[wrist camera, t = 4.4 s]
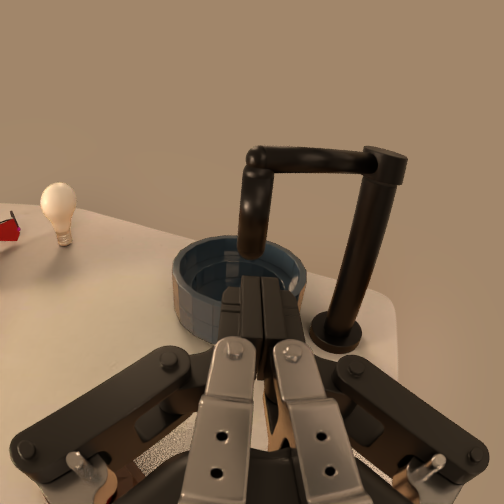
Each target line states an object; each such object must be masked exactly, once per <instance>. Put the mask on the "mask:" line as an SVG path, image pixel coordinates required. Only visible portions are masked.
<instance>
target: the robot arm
mask: <svg viewBox="0 0 504 504" xmlns="http://www.w3.org/2000/svg"><path fill="white" fill-rule="evenodd" d="M256 375H257V380H264V392H263V404H264V412H265V419H266V426H267V433H268V452H267V451H262V450H257V449H253V448H250V445H251V432H252V419H253V388H254V380H256ZM193 412H197V417H196V422H195V427H194V432H193V436H192V441H191V446H190V450H189V451H185V452H182V453H179V454H177V455H175V456H173V457H171V458H169V459H168V460H166V461H165V462H163V463H162V464H161V465H160V466H158V467H157V468H156V469H155V470H154V471H153V472H151V473H150V474H149V475H148V476H146V477H145V478H144V479H143V480H142V481H140V482H139V483H138V484H136V485H135V486H134V487H133V488H131V489H130V490H129V491H128V492H126V493H125V494H124V495H122V496H121V497H120V498H118V499H117V500H116V501H114V502H113V503H112V504H453V502H454V501H455V499H456V497H457V496H458V494H459V492H460V490H461V488H462V486H463V485H464V484H465V483H466V482H468V481H470V480H471V479H473V478H474V477H476V476H477V475H479V474H480V473H481V472H483V471H484V470H485V469H486V468H487V466H488V463H489V452H488V449H487V447H486V446H485V445H484V443H482V442H481V441H480V440H478V439H477V438H475V437H474V436H472V435H471V434H470V433H468V432H467V431H465V430H464V429H462V428H461V427H460V426H458V425H457V424H455V423H454V422H452V421H451V420H449V419H448V418H446V417H445V416H444V415H442V414H441V413H440V412H438V411H437V410H435V409H434V408H433V407H431V406H430V405H429V404H427V403H426V402H424V401H423V400H421V399H420V398H418V397H417V396H416V395H415V394H413V393H412V392H410V391H409V390H407V389H406V388H405V387H403V386H402V385H401V384H399V383H398V382H397V381H395V380H394V379H392V378H391V377H390V376H388V375H387V374H386V373H384V372H383V371H381V370H380V369H379V368H377V367H376V366H375V365H373V364H372V363H371V362H369V361H368V360H366V359H365V358H363V357H361V356H357V355H346V356H344V357H342V358H340V359H339V361H338V362H334V361H330V360H326V359H323V358H320V357H318V356H316V355H315V354H313V351H312V349H311V348H310V347H309V346H308V345H307V344H306V343H305V338H304V333H303V328H302V323H301V318H300V313H299V309H298V304H297V299H296V297H295V296H294V295H293V294H292V293H291V291H288V290H280V285H279V279H278V278H273V277H258V276H245V275H242V279H241V287H230V286H228V287H227V289H226V290H225V291H224V292H223V294H222V302H221V312H220V321H219V330H218V339H217V342H216V344H215V345H214V346H213V347H212V348H211V349H209V350H208V351H205V352H203V353H198V354H192V355H189V354H188V353H187V352H186V351H185V350H183V349H182V348H179V347H176V346H163V347H160V348H157V349H155V350H154V351H152V352H151V353H149V354H148V355H146V356H145V357H143V358H141V359H140V360H138V361H137V362H135V363H134V364H132V365H130V366H129V367H127V368H126V369H124V370H122V371H121V372H119V373H118V374H116V375H115V376H113V377H111V378H110V379H108V380H107V381H105V382H103V383H102V384H100V385H98V386H97V387H95V388H94V389H92V390H90V391H89V392H87V393H85V394H84V395H82V396H81V397H79V398H77V399H76V400H74V401H72V402H71V403H69V404H67V405H66V406H64V407H62V408H61V409H59V410H57V411H56V412H54V413H52V414H51V415H49V416H47V417H46V418H44V419H42V420H41V421H39V422H37V423H35V424H34V425H32V426H30V427H29V428H27V429H25V430H23V431H22V432H20V433H18V434H17V435H16V436H15V437H14V438H13V439H12V441H11V444H10V448H9V453H10V457H11V460H12V462H13V464H14V465H15V466H16V467H17V468H18V469H19V470H21V471H22V472H23V473H25V474H26V475H27V476H28V477H29V478H30V479H31V480H33V481H34V482H36V483H37V484H38V486H39V487H40V489H41V491H42V492H43V494H44V495H45V497H46V498H47V500H48V501H49V503H50V504H106V502H107V500H108V499H109V498H110V497H111V496H112V495H113V494H114V492H115V491H116V489H117V477H116V475H115V473H116V472H117V471H119V470H120V469H122V468H123V467H125V466H126V465H127V464H129V463H130V462H132V461H133V460H134V459H136V458H137V457H138V456H140V455H141V454H142V453H144V452H145V451H146V450H148V449H149V448H150V447H152V446H153V445H154V444H156V443H157V442H158V441H160V440H161V439H162V438H164V437H165V436H166V435H167V434H169V433H170V432H171V431H173V430H174V429H175V428H176V427H178V426H179V425H180V424H181V423H183V422H184V421H185V420H186V419H188V418H189V417H190V416H191V415H192V413H193ZM351 447H352V448H353V449H354V450H356V451H357V452H358V453H359V454H361V455H362V456H363V457H364V458H366V459H367V460H368V461H369V462H371V463H372V464H373V465H374V466H376V467H377V468H378V469H380V470H381V471H382V472H384V473H385V474H386V475H388V476H389V477H390V478H392V479H393V480H392V486H391V485H390V484H389V483H387V482H386V481H385V480H384V479H383V478H381V477H380V476H379V475H378V474H376V473H375V472H374V471H373V470H372V469H371V468H369V467H368V466H367V465H366V464H365V463H363V462H362V461H361V460H359V459H358V458H356V457H354V454H353V451H352V448H351Z"/></svg>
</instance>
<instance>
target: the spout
mask: <svg viewBox="0 0 504 504" xmlns="http://www.w3.org/2000/svg"><path fill="white" fill-rule="evenodd" d="M407 161H408V159H407V157H405V156H404V155H401V154H398V153H396V152H393V151H389V150H386V149H381V148H378V147H372V146H364V149H363V152H357V151H347V150H336V149H335V150H334V149H323V148H307V147H289V146H255V147H253V148H251V149H250V150H249V151H248V153H247V155H246V164H247V165H246V166H245V168H244V170H243V177H242V189H241V201H240V213H239V225H238V237H237V250H238V253H239V254H240V256H241V257H243V258H244V259H246V260H256V259H258V258H259V257H261V256H262V254H263V253H264V251H265V245H266V237H267V229H268V222H269V213H270V205H271V198H272V189H273V181H274V173H342V174H344V173H345V174H361V175H363V176H365V177H367V178H369V179H372V180H375V181H378V182H381V183H385V184H390V185H402V183H403V178H404V174H405V170H406V165H407Z"/></svg>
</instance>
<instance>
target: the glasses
mask: <svg viewBox="0 0 504 504" xmlns="http://www.w3.org/2000/svg"><path fill="white" fill-rule="evenodd" d="M10 214H11V217H13V219H8V220H5V221H7V222H5V221H2V222H0V223H2V224H0V241H17V240H18V237H19V234H20V232H19V231H20V228H19V226H18V224H17V221H16V219H15V216H14V214H13V212H12V211H10ZM3 222H4V223H3Z"/></svg>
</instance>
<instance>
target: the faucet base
mask: <svg viewBox="0 0 504 504" xmlns="http://www.w3.org/2000/svg"><path fill="white" fill-rule="evenodd" d="M396 189H397V185H390V184H385V183H381V182H378V181H375V180H372V179H369V178H367V177H365V176H363V178H362V183H361V187H360V192H359V197H358V201H357V205H356V210H355V214H354V219H353V223H352V227H351V231H350V235H349V239H348V243H347V246H346V250H345V254H344V258H343V262H342V265H341V269H340V273H339V276H338V279H337V283H336V286H335V290H334V293H333V297H332V300H331V303H330V306H329V310H328V311H326V312H322V313H319V314H318V315H316V316H315V317H314V319H313V320H312V323H311V327H310V337H311V339H312V341H313V342H314V343H315V344H316V345H317V346H318V347H319V348H321V349H323V350H325V351H327V352H330V353H334V354H345V353H349V352H351V351H353V350H354V349H355V348H356V347H357V346H358V344H359V341H360V339H361V336H362V330H361V327H360V325H359V324H358V323H357V321H355V319H356V317H357V314H358V311H359V309H360V306H361V303H362V301H363V298H364V295H365V292H366V290H367V287H368V284H369V281H370V278H371V275H372V272H373V269H374V266H375V263H376V259H377V257H378V254H379V250H380V247H381V244H382V240H383V237H384V234H385V230H386V227H387V223H388V220H389V216H390V212H391V208H392V205H393V201H394V197H395V193H396Z"/></svg>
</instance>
